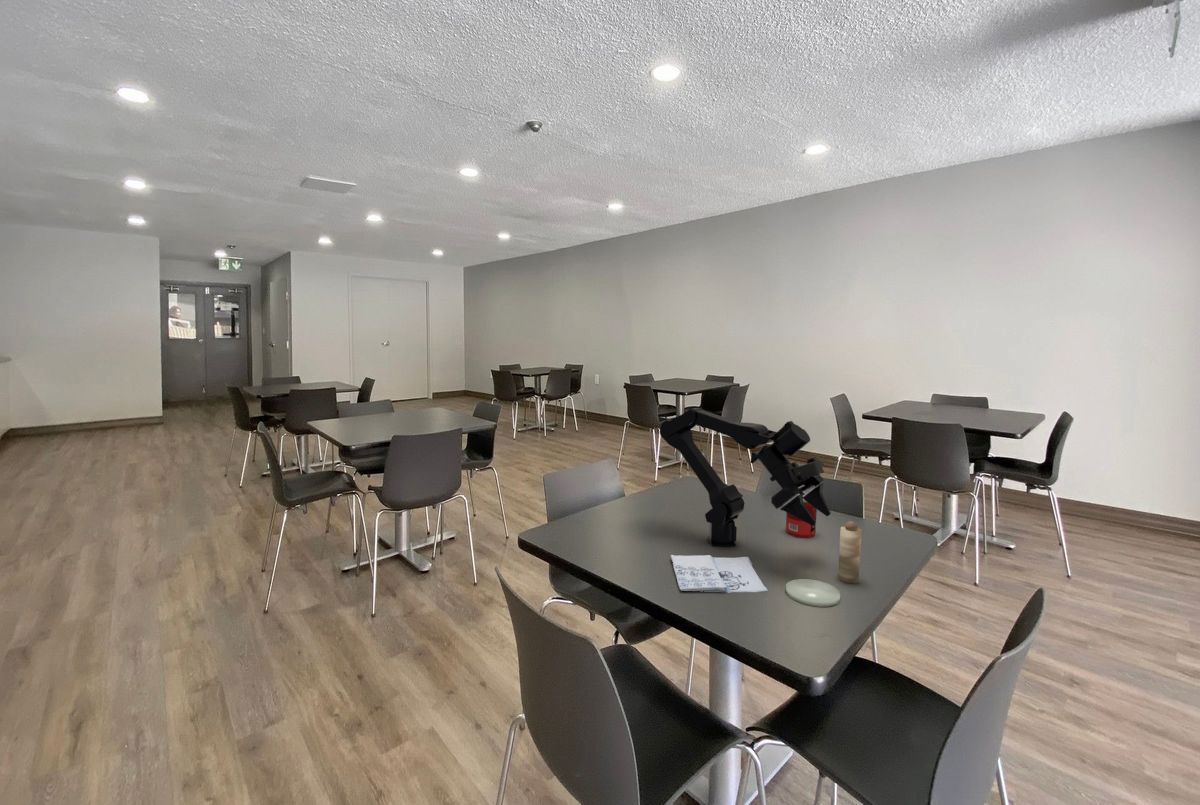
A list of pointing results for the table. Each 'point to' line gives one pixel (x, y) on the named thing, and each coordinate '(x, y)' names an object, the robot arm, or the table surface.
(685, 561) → the open notebook
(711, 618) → the table surface
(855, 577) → the pepper mill
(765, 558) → the table surface
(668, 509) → the table surface
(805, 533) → the canned food
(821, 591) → the disc
